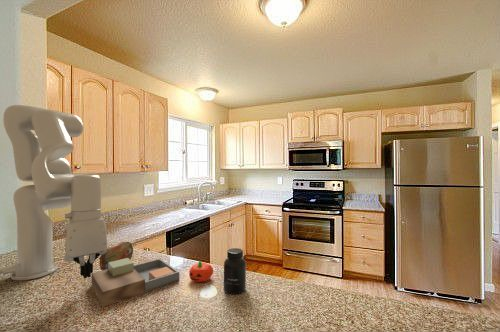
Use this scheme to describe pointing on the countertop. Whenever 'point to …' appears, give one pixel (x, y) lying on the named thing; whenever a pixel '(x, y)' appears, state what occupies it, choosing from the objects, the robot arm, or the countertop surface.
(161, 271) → the tile
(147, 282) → the box
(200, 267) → the pumpkin
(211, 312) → the countertop surface
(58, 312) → the countertop surface
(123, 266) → the tile
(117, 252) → the tin
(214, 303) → the countertop surface
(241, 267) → the supplement bottle
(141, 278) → the tan slab
